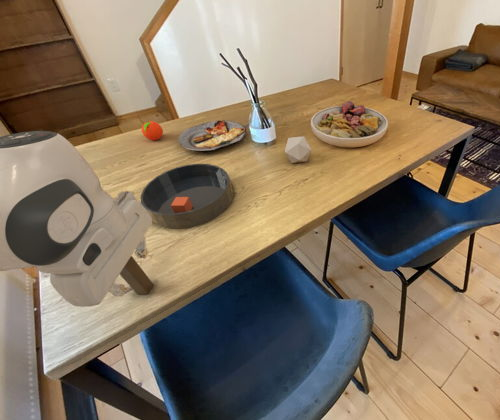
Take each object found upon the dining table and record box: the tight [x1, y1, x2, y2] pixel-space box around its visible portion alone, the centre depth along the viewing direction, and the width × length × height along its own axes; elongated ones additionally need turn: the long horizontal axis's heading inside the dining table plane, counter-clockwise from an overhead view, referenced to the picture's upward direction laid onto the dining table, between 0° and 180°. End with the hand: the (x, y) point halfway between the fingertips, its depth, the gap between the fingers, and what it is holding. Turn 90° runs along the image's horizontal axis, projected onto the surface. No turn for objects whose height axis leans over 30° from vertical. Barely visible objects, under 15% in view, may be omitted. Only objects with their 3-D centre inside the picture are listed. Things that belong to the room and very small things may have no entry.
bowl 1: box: [139, 163, 234, 230], centre depth 79 cm, size 23×23×5 cm
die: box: [284, 135, 312, 164], centre depth 93 cm, size 8×9×10 cm
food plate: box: [177, 119, 247, 151], centre depth 106 cm, size 25×23×4 cm
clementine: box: [141, 120, 164, 141], centre depth 105 cm, size 8×7×7 cm
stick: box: [119, 255, 154, 295], centre depth 54 cm, size 2×2×14 cm
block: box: [171, 197, 193, 213], centre depth 74 cm, size 4×4×4 cm
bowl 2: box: [310, 100, 389, 148], centre depth 108 cm, size 30×30×8 cm
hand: (133, 273), depth 55 cm, fingers open, 7 cm apart
